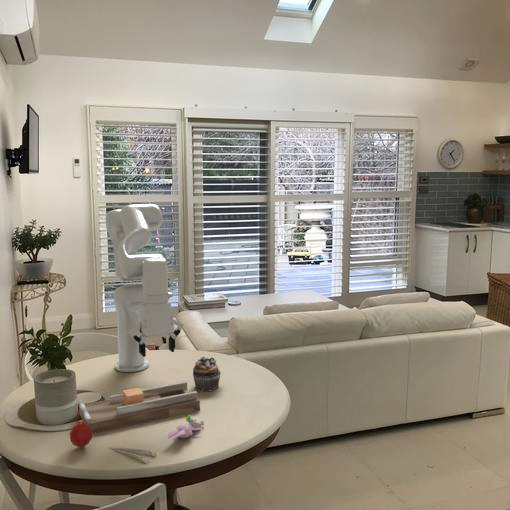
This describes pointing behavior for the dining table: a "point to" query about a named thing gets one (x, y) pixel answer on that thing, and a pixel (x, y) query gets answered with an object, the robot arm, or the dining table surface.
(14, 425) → the dining table surface
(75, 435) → the onion
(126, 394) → the block
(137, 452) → the tweezers
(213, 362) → the cupcake
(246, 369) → the dining table surface
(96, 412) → the trap tube
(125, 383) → the dining table surface
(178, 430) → the pink plastic figure
